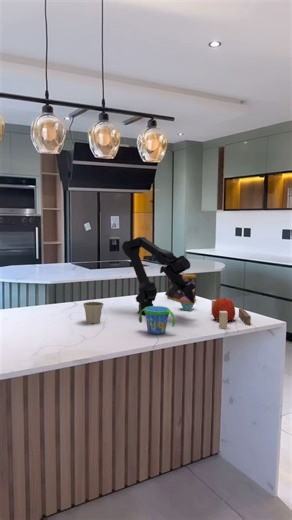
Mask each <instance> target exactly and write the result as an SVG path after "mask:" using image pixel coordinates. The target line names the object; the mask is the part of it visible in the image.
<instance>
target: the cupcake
mask: <svg viewBox="0 0 292 520" xmlns="http://www.w3.org/2000/svg"><path fill="white" fill-rule="evenodd" d="M194 301H195V302H194V303H192V302H191V301H189V300H188V299H187V298H186V297H185V296H184V297H182V298H180V300H179V302H178V303H179V304H180V305H181V307H182V310H184V311H192V310H193V307H194V304H196V298H195V299H194Z"/></svg>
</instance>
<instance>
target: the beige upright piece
mask: <svg viewBox="0 0 292 520" xmlns="http://www.w3.org/2000/svg"><path fill="white" fill-rule="evenodd" d="M216 300H217V299H211V315H212V316H213V314H212V307H213V305H214V303H215V301H216ZM227 314H228V313H227V311H219V320H218V319H216V320H217V322H218V327H219V328H220V329H228V321H227Z"/></svg>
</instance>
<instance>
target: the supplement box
mask: <svg viewBox="0 0 292 520" xmlns="http://www.w3.org/2000/svg"><path fill="white" fill-rule="evenodd" d="M180 274H182V275H183V276H182V277H183V278H184V280H185V281H187V282H188V283H193V284H194V285H195V286H196V285H197V283H196V281H197V275H196V274H193V273H188V272H185V271H183V272H182V273H180ZM188 283H187V284H188ZM170 285H171V284H170V280H169V278H168V277H167V289H168V288H169V287H170ZM196 287H197V286H196ZM196 287H195V288H194V289H193V290H192V291H193V296H194V299H195V300H196V295H197V294H196V292H197V291H196V290H197V289H196ZM178 294H179V292H178V291H177V293H175V295H174V297H173V298H169V297H168V296H166V297H167V299H170V300H172V301H175V302H178V303H179V300H180V298H182V297H184V296H183V295H178Z"/></svg>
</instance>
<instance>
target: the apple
mask: <svg viewBox="0 0 292 520" xmlns="http://www.w3.org/2000/svg"><path fill="white" fill-rule="evenodd" d="M215 300H216V301H215V303H214V305H213V307H212V306H211V309H212V313H211V315H212V314H213V315H212V317H213V318H214V319H216V320H217V319H218V320H219V311H227V313H228V314H227V322H229V321H232V320H234V319H235V316H236V308H235V307H236V306H235V304H234V302H233V300H232V299H230V298H225V297H222V298H219V297H218V298H217V299H215ZM218 320H217V321H218Z"/></svg>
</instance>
